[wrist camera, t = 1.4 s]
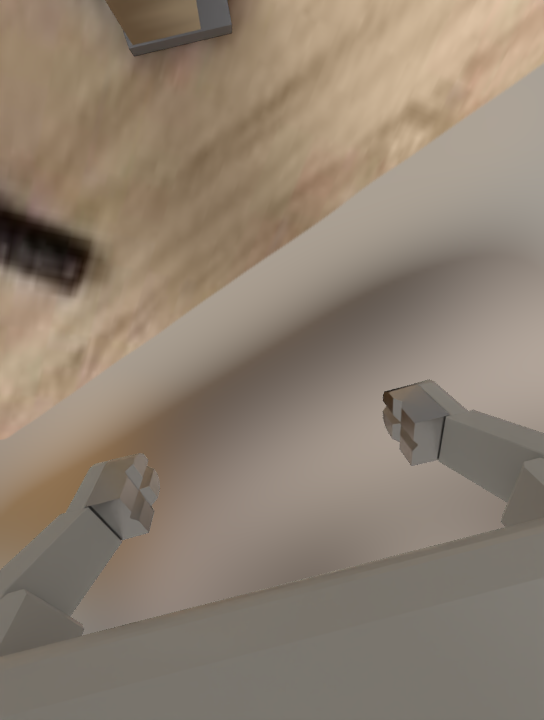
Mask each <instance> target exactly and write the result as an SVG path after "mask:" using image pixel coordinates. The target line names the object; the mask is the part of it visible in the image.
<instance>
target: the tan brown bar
mask: <svg viewBox="0 0 544 720" xmlns="http://www.w3.org/2000/svg"><path fill="white" fill-rule="evenodd" d="M105 1H106V2H107V4H108V6H109V7H110V9H111V11H112V12H113V14H114V15H115V17H116V19H117V20H118V22H119V24H120V25H121V27H122V28H123V30H124V32H125V33H126V35H127V37H128V38H129V40H130V42H131V43H132V45H136V44H140V43H144V42H149V41H153V40H157V39H161V38H166V37H170V36H174V35H178V34H183V33H187V32H191V31H196V30H200V29H201V26H200V20H199V14H198V8H197V2H196V0H105Z"/></svg>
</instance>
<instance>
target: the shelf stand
mask: <svg viewBox="0 0 544 720" xmlns="http://www.w3.org/2000/svg"><path fill="white" fill-rule="evenodd" d="M196 2H197V8H198V14H199V20H200V26H201V29H200V30H196V31H191V32H187V33H183V34H178V35H174V36H170V37H166V38H161V39H157V40H153V41H149V42H144V43H140V44H136V45H132V43H131V42H130V40H129V38H128V37H127V35H126V33H125V32H124V30H123V32H124V35H125V38H126V41H127V44H128V47H129V49H130V51H131V52H132V54H133V55H134V56H136V55H141V54H145V53H149V52H153V51H158V50H162V49H166V48H170V47H175V46H179V45H183V44H187V43H192V42H196V41H200V40H204V39H209V38H213V37H217V36H221V35H226V34H230V33H232V23H231V18H230V12H229V7H228V2H227V0H196ZM122 29H123V28H122Z"/></svg>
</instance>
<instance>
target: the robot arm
mask: <svg viewBox="0 0 544 720" xmlns="http://www.w3.org/2000/svg"><path fill="white" fill-rule="evenodd" d="M383 402H384V403H385V404H386V408H385V409H384V410H383V419H384V423H385V426H386V429H387V431H388V433H389V434H390V436H391V437H392V438H393V439H394V440H396V441H398V442H400V450H401V452H402V453H403V455H404V456H405V458H406V459H407V460H408V462H409V463H410V465H411V466H413V465H418V464H422V463H427V462H431V461H435V460H439V462H441V463H442V464H444V465H446V466H447V467H449V468H451V469H452V470H454V471H456V472H458V473H459V474H461V475H462V476H464V477H466V478H467V479H469V480H471V481H472V482H474V483H476V484H477V485H479V486H481V487H482V488H484V489H486V490H487V491H489V492H491V493H492V494H494V495H495V496H497V497H499V498H501V499H502V500H504V501H505V502H507V505H506V508H505V510H504V513H503V515H502V520H501V522H502V524H503V525H504V526H505V528H501V529H497V530H493V531H489V532H485V533H481V534H477V535H473V536H470V537H466V538H462V539H458V540H454V541H450V542H446V543H443V544H438V545H434V546H430V547H426V548H423V549H419V550H415V551H411V552H407V553H403V554H399V555H396V556H391V557H387V558H383V559H380V560H376V561H372V562H368V563H364V564H360V565H356V566H352V567H349V568H344V569H341V570H336V571H333V572H329V573H325V574H321V575H317V576H313V577H309V578H306V579H301V580H298V581H294V582H290V583H286V584H282V585H278V586H274V587H270V588H266V589H262V590H258V591H254V592H250V593H247V594H243V595H239V596H235V597H231V598H227V599H223V600H219V601H215V602H211V603H207V604H204V605H200V606H196V607H192V608H188V609H184V610H180V611H176V612H172V613H169V614H164V615H161V616H157V617H153V618H149V619H145V620H141V621H138V622H133V623H129V624H125V625H122V626H118V627H114V628H110V629H106V630H102V631H99V632H94V633H90V634H87V635H83V636H82V634H83V631H84V627H83V624H82V623H80V622H78V621H77V620H75V619H73V618H72V617H70V616H71V615H72V613H73V612H74V610H75V609H76V607H77V606H78V605H79V603H80V602H81V600H82V599H83V597H84V596H85V595H86V593H87V592H88V590H89V589H90V587H91V586H92V584H93V583H94V582H95V580H96V579H97V577H98V576H99V574H100V573H101V572H102V570H103V569H104V567H105V566H106V564H107V563H108V561H109V560H110V559H111V557H112V555H113V554H114V553H115V551H116V550H117V549H118V547H119V546H120V544H121V543H122V541H121V540H125V539H128V538H132V537H135V536H139V535H142V534H146V533H149V530H150V526H151V522H152V518H153V514H154V510H153V508H152V504H153V503H154V502H155V500H156V499H157V498H158V494H159V489H160V486H159V478H158V475H157V473H156V472H155V470H154V469H153V468H150V467H148V466H147V462H148V459H147V458H146V457H145V455H144V454H135V455H130V456H126V457H122V458H117V459H113V460H110V461H106V462H101V463H97V464H94V465H93V466H92V467H90V469H89V471H88V473H87V474H86V476H85V478H84V480H83V482H82V484H81V486H80V487H79V489H78V491H77V493H76V495H75V496H74V498H73V500H72V502H71V504H70V506H69V508H68V509H67V511H66V513H63V514H60V515H59V516H58V517H57V518H56V519H55V520H54V521H53V522H52V523H50V524H49V525H48V527H46V528H45V529H44V530H43V531H42V532H41V533H40V534H39V535H38V536H37V537H35V538H34V539H33V540H32V541H31V542H30V543H29V544H28V545H27V546H26V547H25V548H24V549H22V550H21V551H20V552H19V553H18V554H17V555H16V556H15V557H14V558H13V559H12V560H11V561H10V562H8V563H7V564H6V565H5V566H4V567H3V568H2V569H1V570H0V720H544V433H542V432H539V431H536V430H533V429H529V428H527V427H523V426H521V425H517V424H515V423H511V422H509V421H505V420H503V419H500V418H497V417H494V416H490V415H487V414H484V413H481V412H478V411H475V410H471V411H468V410H467V409H465V408H464V407H463V406H462V405H461V404H460V403H459V402H457V401H456V400H455V399H454V398H453V397H452V396H450V395H449V394H448V393H447V392H446V391H445V390H443V389H442V388H441V387H440V386H439V385H438V384H436V383H435V382H434V381H432V380H426V381H422V382H418V383H414V384H411V385H407V386H404V387H400V388H396V389H392V390H388V391H385V392H384V394H383Z"/></svg>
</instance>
